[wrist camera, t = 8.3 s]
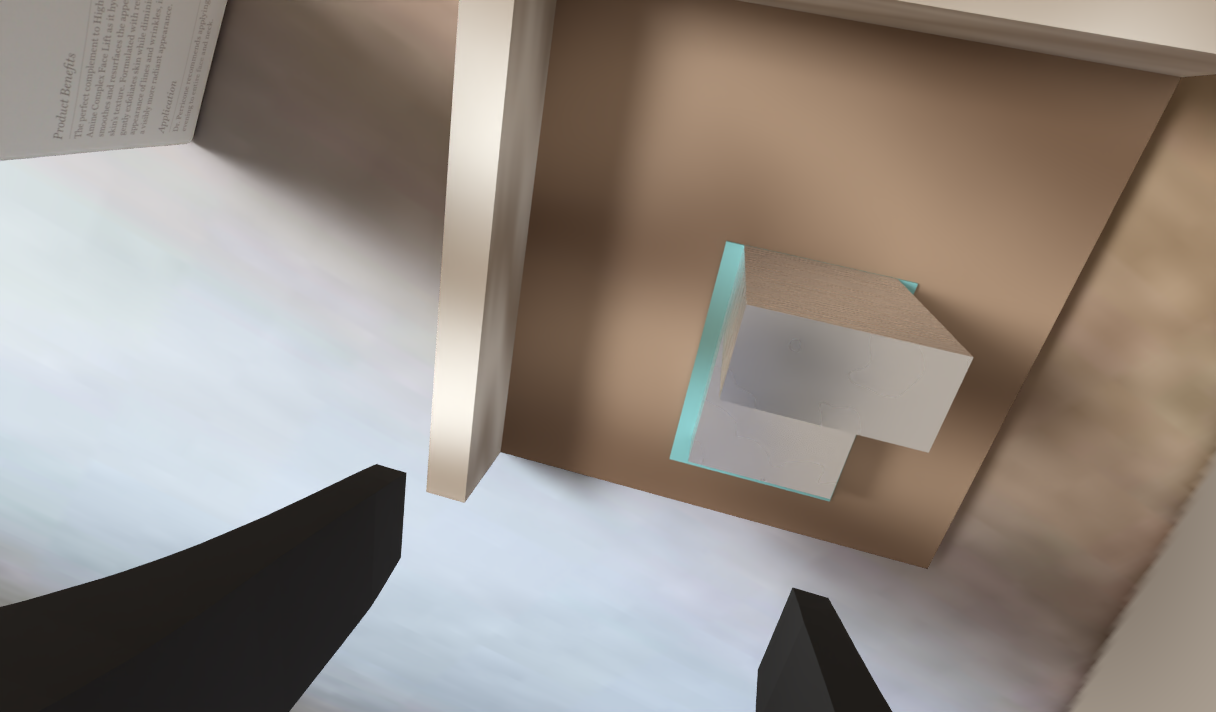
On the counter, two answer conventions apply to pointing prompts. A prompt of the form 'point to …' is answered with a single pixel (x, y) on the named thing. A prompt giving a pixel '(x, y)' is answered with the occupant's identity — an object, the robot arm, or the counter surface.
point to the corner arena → (772, 217)
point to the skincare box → (102, 73)
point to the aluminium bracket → (820, 372)
